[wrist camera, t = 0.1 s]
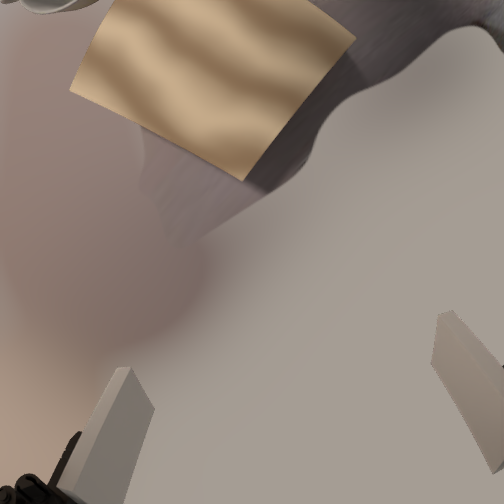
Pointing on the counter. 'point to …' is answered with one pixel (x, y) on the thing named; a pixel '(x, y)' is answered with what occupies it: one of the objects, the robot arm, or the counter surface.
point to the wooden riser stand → (211, 70)
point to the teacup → (51, 5)
